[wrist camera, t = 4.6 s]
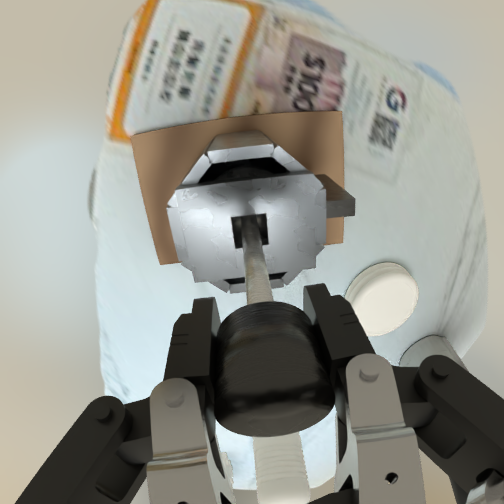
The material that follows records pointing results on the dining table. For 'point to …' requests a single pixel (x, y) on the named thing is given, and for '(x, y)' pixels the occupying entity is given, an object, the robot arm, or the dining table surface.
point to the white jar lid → (383, 297)
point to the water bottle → (280, 470)
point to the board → (201, 133)
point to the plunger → (267, 350)
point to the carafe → (252, 211)
